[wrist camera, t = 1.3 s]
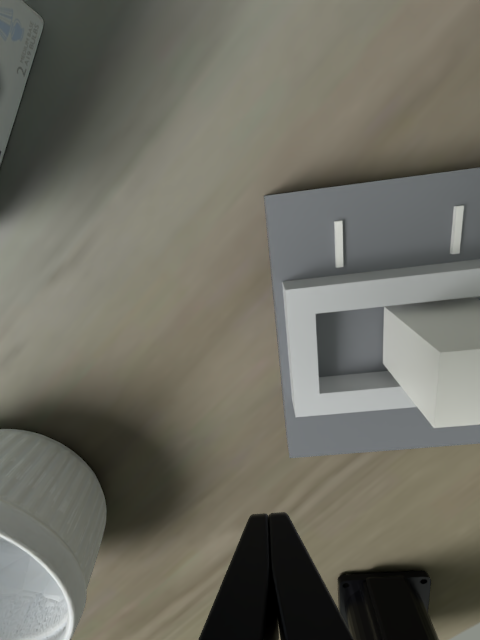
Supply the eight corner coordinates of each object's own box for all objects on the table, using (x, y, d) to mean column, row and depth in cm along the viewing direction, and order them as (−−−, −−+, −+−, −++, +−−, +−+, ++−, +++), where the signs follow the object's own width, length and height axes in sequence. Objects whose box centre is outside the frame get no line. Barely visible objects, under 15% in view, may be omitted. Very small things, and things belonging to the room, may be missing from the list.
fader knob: (466, 355, 17) (556, 422, 12) (382, 363, 17) (436, 431, 12) (472, 296, 16) (575, 342, 11) (383, 306, 16) (443, 355, 11)
